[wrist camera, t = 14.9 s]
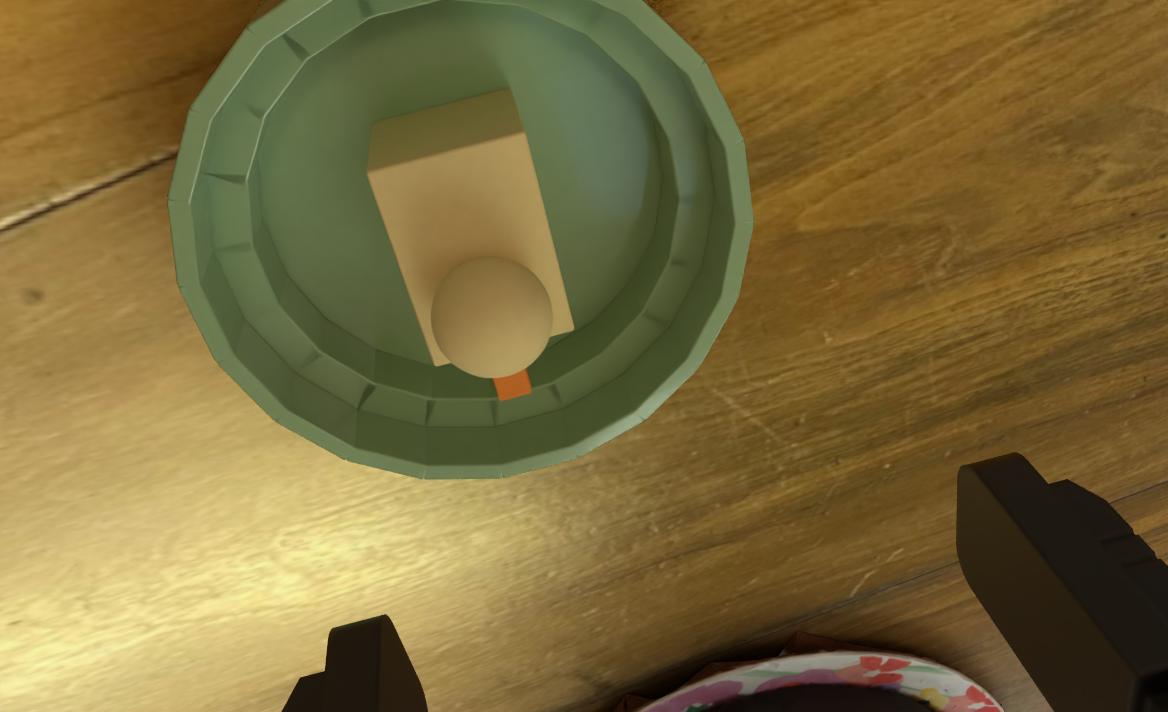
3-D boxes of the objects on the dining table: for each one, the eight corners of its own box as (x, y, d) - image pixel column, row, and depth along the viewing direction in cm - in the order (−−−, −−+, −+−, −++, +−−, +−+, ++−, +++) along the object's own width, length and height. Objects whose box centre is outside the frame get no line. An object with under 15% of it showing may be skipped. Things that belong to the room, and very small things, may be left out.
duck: (370, 122, 29) (360, 216, 23) (510, 86, 29) (538, 170, 23) (438, 320, 33) (444, 447, 27) (561, 287, 33) (597, 407, 27)
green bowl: (108, -3, 27) (51, 39, 22) (665, -143, 27) (712, -128, 23) (314, 442, 35) (300, 533, 31) (733, 332, 36) (777, 406, 31)
